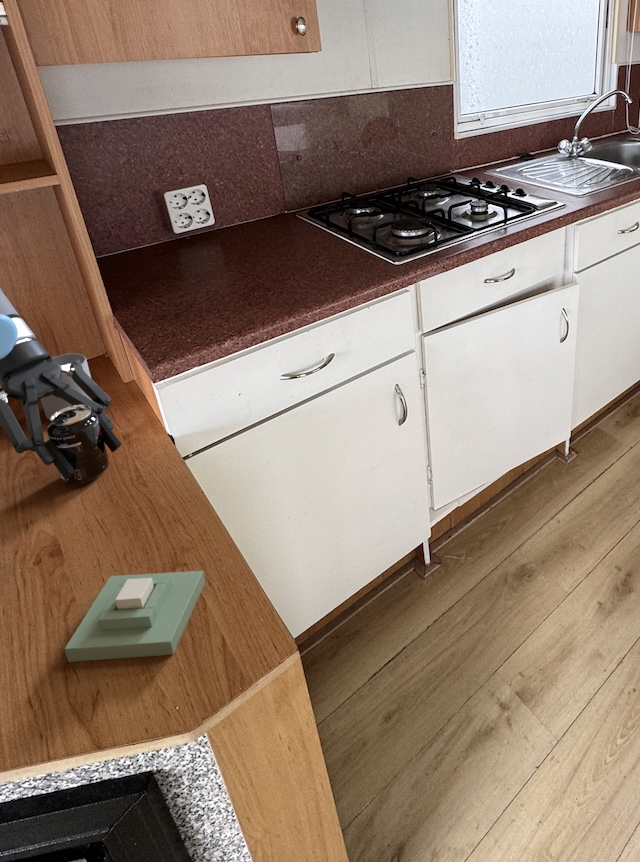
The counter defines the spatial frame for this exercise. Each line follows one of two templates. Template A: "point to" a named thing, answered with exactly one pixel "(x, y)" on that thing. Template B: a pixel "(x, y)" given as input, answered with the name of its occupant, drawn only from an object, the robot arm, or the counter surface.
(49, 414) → the cup
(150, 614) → the tiered green stack
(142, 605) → the small white rectangular block
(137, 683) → the counter surface
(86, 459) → the beverage can
